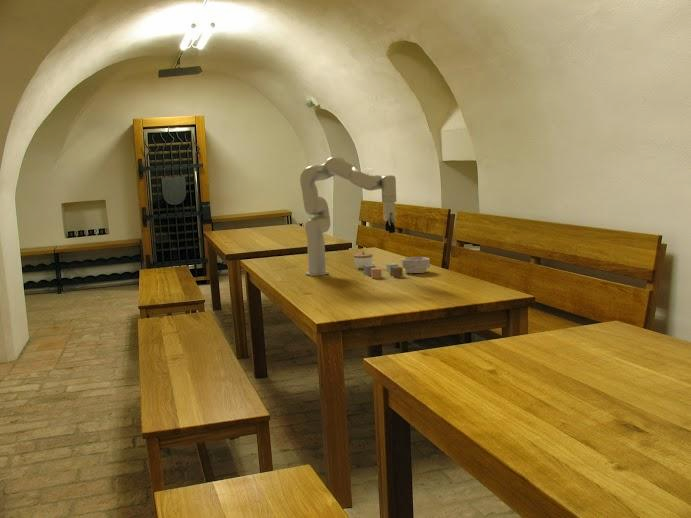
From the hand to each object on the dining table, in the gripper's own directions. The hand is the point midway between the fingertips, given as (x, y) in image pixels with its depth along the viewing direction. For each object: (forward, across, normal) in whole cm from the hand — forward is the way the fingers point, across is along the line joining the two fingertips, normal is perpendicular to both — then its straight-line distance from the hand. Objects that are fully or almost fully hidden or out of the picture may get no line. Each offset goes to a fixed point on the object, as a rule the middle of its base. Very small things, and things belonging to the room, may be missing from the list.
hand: (390, 231), depth 372 cm
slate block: (+24, -13, -10) cm, 30 cm away
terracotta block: (+24, -3, -8) cm, 26 cm away
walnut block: (+24, -3, +3) cm, 25 cm away
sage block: (+24, -15, +3) cm, 29 cm away
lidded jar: (+24, -36, -10) cm, 44 cm away
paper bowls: (+25, -12, +15) cm, 31 cm away
